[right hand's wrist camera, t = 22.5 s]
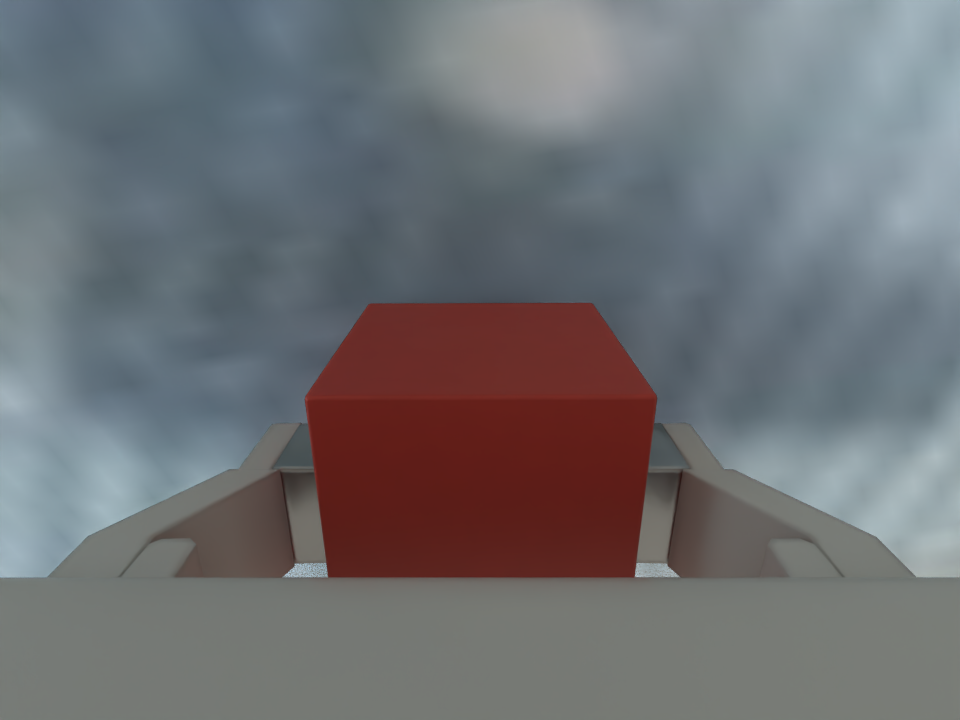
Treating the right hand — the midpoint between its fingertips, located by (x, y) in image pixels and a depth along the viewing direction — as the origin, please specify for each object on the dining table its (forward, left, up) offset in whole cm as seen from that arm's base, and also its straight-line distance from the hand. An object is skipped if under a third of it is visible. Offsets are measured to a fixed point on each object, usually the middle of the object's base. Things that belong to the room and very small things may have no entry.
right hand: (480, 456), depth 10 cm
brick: (0, 0, -2) cm, 2 cm away
